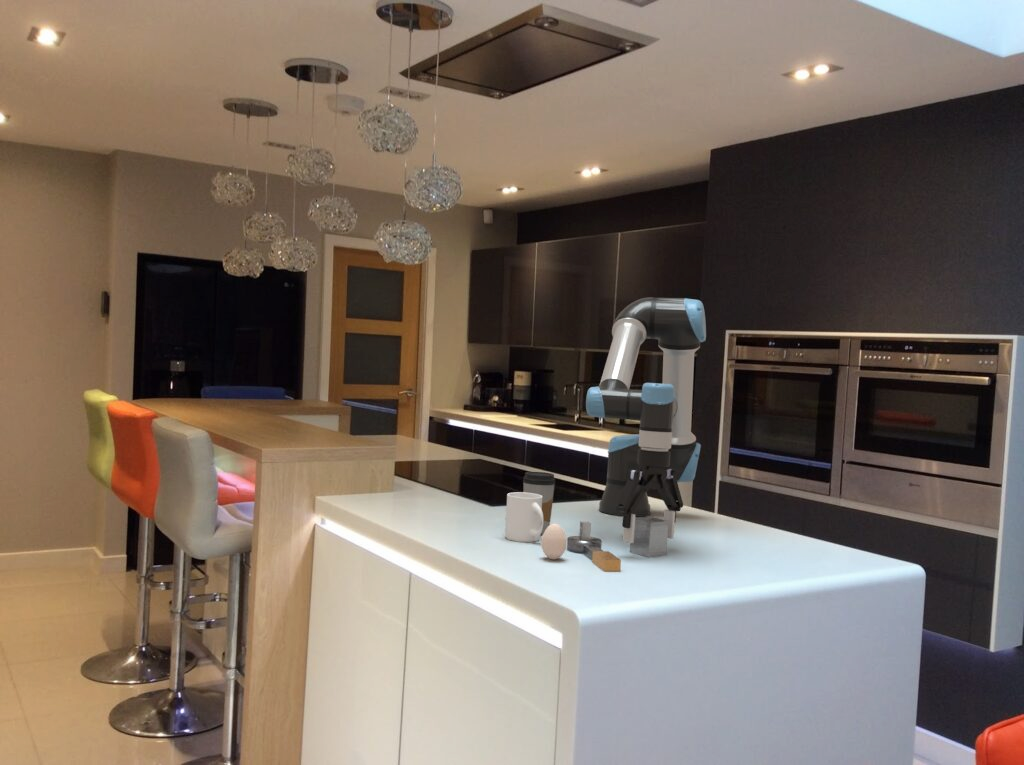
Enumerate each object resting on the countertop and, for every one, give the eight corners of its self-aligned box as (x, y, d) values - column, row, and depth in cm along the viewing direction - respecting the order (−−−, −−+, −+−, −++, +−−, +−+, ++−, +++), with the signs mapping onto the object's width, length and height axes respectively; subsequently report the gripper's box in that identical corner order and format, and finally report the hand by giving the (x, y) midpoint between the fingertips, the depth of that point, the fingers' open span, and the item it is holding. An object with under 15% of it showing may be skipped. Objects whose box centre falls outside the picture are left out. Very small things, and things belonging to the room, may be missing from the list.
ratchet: (594, 546, 204) (596, 519, 204) (630, 571, 181) (632, 540, 181) (562, 546, 202) (564, 518, 202) (594, 571, 179) (596, 540, 179)
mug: (526, 546, 199) (529, 501, 199) (497, 536, 209) (500, 493, 209) (555, 544, 204) (558, 499, 204) (526, 534, 214) (528, 491, 213)
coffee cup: (549, 537, 211) (553, 477, 211) (516, 534, 213) (520, 474, 212) (554, 531, 219) (558, 473, 219) (522, 528, 221) (526, 470, 221)
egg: (557, 563, 184) (560, 527, 184) (536, 559, 187) (538, 523, 187) (569, 559, 189) (571, 523, 189) (548, 555, 192) (550, 520, 191)
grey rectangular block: (647, 549, 204) (649, 516, 203) (666, 554, 199) (668, 520, 199) (629, 551, 200) (631, 518, 200) (648, 557, 195) (650, 522, 195)
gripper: (677, 447, 209) (672, 533, 210) (604, 447, 194) (598, 540, 194) (701, 450, 203) (696, 538, 204) (628, 451, 188) (622, 547, 188)
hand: (648, 539), depth 199 cm, fingers open, 13 cm apart
